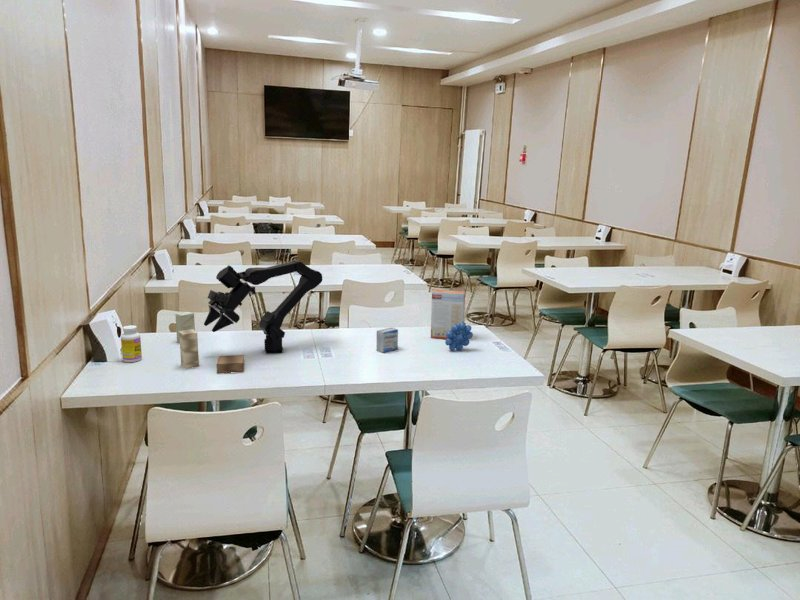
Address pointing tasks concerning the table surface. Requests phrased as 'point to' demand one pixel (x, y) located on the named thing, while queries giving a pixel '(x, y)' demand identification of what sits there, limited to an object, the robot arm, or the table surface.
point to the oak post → (189, 348)
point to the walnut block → (230, 364)
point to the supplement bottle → (131, 344)
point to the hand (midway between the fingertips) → (208, 328)
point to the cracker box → (446, 311)
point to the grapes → (459, 336)
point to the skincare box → (184, 322)
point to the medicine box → (387, 340)
